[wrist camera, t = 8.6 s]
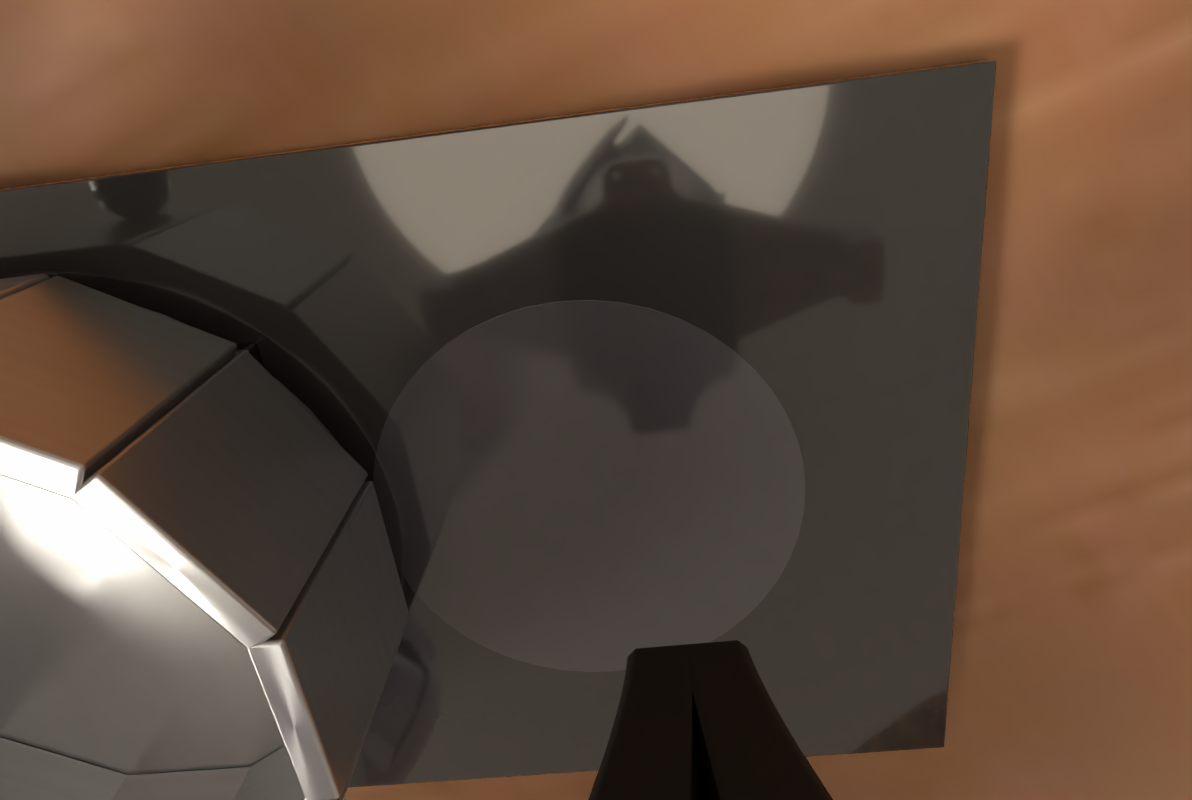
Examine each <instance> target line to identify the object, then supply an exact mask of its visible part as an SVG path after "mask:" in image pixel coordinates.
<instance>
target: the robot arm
mask: <svg viewBox="0 0 1192 800" xmlns="http://www.w3.org/2000/svg"><path fill="white" fill-rule="evenodd" d="M589 800H833V799H832V797H831V796H830V794H829V793H828V791H827V790H826V788H825V787H824V785H823V784H822V782H821V781H820V779H819V777H818V776H817V774H816V773H815V771H814V770H813V768H812V767H811V765H810V764H809V762H808V761H807V759H806V757H805V756H804V754H803V753H802V751H801V750H800V748H799V746H798V745H797V743H796V741H795V740H794V738H793V736H792V735H791V733H790V731H789V730H788V728H787V726H786V724H785V723H784V721H783V719H782V717H781V716H780V714H779V712H778V710H777V709H776V707H775V705H774V703H773V701H772V700H771V698H770V696H769V694H768V692H767V690H766V688H765V686H764V684H763V682H762V680H761V678H760V676H759V674H758V672H757V670H756V667H755V665H754V663H753V661H752V658H751V656H750V653H749V650H748V648H747V647H746V646H745V645H744V644H742V643H741V642H740V641H738V640H734V641H721V642H709V643H697V644H685V645H673V646H660V647H648V648H636V649H635V650H634V651H633V652H632V653H631V654H630V655H629V656H628V657H627V665H626V673H625V678H624V683H623V688H622V693H621V698H620V702H619V706H618V710H617V713H616V717H615V720H614V724H613V727H612V731H611V734H610V738H609V741H608V744H607V748H606V751H605V753H604V756H603V759H602V762H601V765H600V768H599V771H598V774H597V777H596V780H595V782H594V785H593V788H592V791H591V794H590V797H589Z"/></svg>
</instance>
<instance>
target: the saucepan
mask: <svg viewBox="0 0 1192 800" xmlns="http://www.w3.org/2000/svg"><path fill="white" fill-rule="evenodd" d="M367 476H368V474H367V472H366V471H365V470H364V469H363V468H362V467H361V466H360V465H359V464H358V463H357V462H356V461H355V460H354V459H353V458H352V457H351V456H350V455H349V454H348V453H347V452H346V451H345V450H344V449H343V448H342V447H341V446H340V444H339V443H338V441H337V440H336V439H335V437H334V436H333V435H332V434H331V433H330V432H329V431H328V429H327V428H326V427H325V426H324V425H323V424H322V423H321V421H320V420H319V419H318V418H317V417H316V416H315V415H314V413H313V412H312V411H311V410H310V409H309V408H308V407H307V406H306V405H305V404H304V403H303V402H301V401H300V400H299V399H298V398H297V397H296V396H295V395H294V394H293V393H292V392H290V391H289V390H288V389H287V388H286V387H285V386H284V385H283V384H282V383H281V382H280V381H278V380H277V379H276V378H274V377H273V376H272V375H271V374H270V373H269V372H268V371H267V370H266V369H265V367H264V363H263V360H262V357H261V354H260V351H259V348H258V344H257V343H256V342H249V343H240V344H236V343H234V342H231V341H228V340H226V339H223V338H220V337H218V336H215V335H213V334H210V333H207V332H205V331H202V330H200V329H197V328H194V327H192V326H189V325H187V324H184V323H182V322H180V321H178V320H175V319H173V318H171V317H169V316H166V315H164V314H161V313H158V312H155V311H152V310H149V309H145V308H142V307H139V306H137V305H134V304H131V303H129V302H126V301H124V300H121V299H118V298H116V297H113V296H110V295H108V294H105V293H103V292H100V291H97V290H95V289H92V288H89V287H87V286H84V285H82V284H79V283H76V282H74V281H71V280H68V279H66V278H63V277H61V276H55V277H52V278H50V277H49V276H48V275H46V274H38V275H30V276H21V277H13V278H4V279H0V800H343V799H344V797H345V794H346V791H347V788H348V786H349V783H350V780H351V777H352V774H353V772H354V769H355V766H356V763H357V761H358V758H359V755H360V752H361V750H362V747H363V744H364V741H365V739H366V736H367V733H368V730H369V728H370V725H371V722H372V719H373V717H374V714H375V711H376V708H377V706H378V703H379V700H380V697H381V694H382V692H383V689H384V686H385V683H386V681H387V678H388V675H389V672H390V670H391V667H392V664H393V661H394V659H395V656H396V653H397V650H398V648H399V645H400V642H401V639H402V637H403V634H404V631H405V628H406V626H407V623H408V618H407V615H408V608H407V604H406V601H405V597H404V593H403V590H402V586H401V582H400V579H399V575H398V571H397V568H396V564H395V561H394V557H393V553H392V550H391V546H390V542H389V539H388V535H387V531H386V528H385V524H384V521H383V517H382V513H381V510H380V506H379V502H378V499H377V495H376V491H375V488H374V484H373V482H372V481H365V479H366V478H367ZM364 481H365V482H364Z"/></svg>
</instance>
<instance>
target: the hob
mask: <svg viewBox="0 0 1192 800" xmlns="http://www.w3.org/2000/svg"><path fill="white" fill-rule="evenodd" d="M995 70H996V61H994V60H983V61H975V62H968V63H960V64H952V65H945V66H937V67H929V68H922V69H914V70H906V71H899V72H891V73H883V74H876V75H868V76H861V77H853V78H845V79H838V80H830V81H822V82H815V83H807V84H799V85H792V86H784V87H776V88H769V89H761V90H754V91H746V92H738V93H731V94H723V95H715V96H708V97H700V98H692V99H685V100H677V101H669V102H662V103H654V104H647V105H639V106H631V107H624V108H616V109H608V110H601V111H593V112H585V113H578V114H570V115H562V116H555V117H547V118H540V119H532V120H524V121H517V122H509V123H501V124H494V125H486V126H478V127H471V128H463V129H455V130H448V131H440V132H433V133H425V134H417V135H410V136H402V137H394V138H387V139H379V140H371V141H364V142H356V143H348V144H341V145H333V146H325V147H318V148H310V149H303V150H295V151H287V152H280V153H272V154H264V155H257V156H249V157H241V158H234V159H226V160H218V161H211V162H203V163H196V164H188V165H180V166H173V167H165V168H157V169H150V170H142V171H134V172H127V173H119V174H111V175H104V176H96V177H89V178H81V179H73V180H66V181H58V182H50V183H43V184H35V185H27V186H20V187H12V188H4V189H0V279H4V278H13V277H21V276H30V275H38V274H46V275H48V276H49V277H50V278H52V277H55V276H61V277H63V278H66V279H68V280H71V281H74V282H76V283H79V284H82V285H84V286H87V287H89V288H92V289H95V290H97V291H100V292H103V293H105V294H108V295H110V296H113V297H116V298H118V299H121V300H124V301H126V302H129V303H131V304H134V305H137V306H139V307H142V308H145V309H149V310H152V311H155V312H158V313H161V314H164V315H166V316H169V317H171V318H173V319H175V320H178V321H180V322H182V323H184V324H187V325H189V326H192V327H194V328H197V329H200V330H202V331H205V332H207V333H210V334H213V335H215V336H218V337H220V338H223V339H226V340H228V341H231V342H234V343H236V344H240V343H249V342H256V343H257V344H258V348H259V351H260V354H261V357H262V360H263V363H264V367H265V369H266V370H267V371H268V372H269V373H270V374H271V375H272V376H273V377H274V378H276V379H277V380H278V381H280V382H281V383H282V384H283V385H284V386H285V387H286V388H287V389H288V390H289V391H290V392H292V393H293V394H294V395H295V396H296V397H297V398H298V399H299V400H300V401H301V402H303V403H304V404H305V405H306V406H307V407H308V408H309V409H310V410H311V411H312V412H313V413H314V415H315V416H316V417H317V418H318V419H319V420H320V421H321V423H322V424H323V425H324V426H325V427H326V428H327V429H328V431H329V432H330V433H331V434H332V435H333V436H334V437H335V439H336V440H337V441H338V443H339V444H340V446H341V447H342V448H343V449H344V450H345V451H346V452H347V453H348V454H349V455H350V456H351V457H352V458H353V459H354V460H355V461H356V462H357V463H358V464H359V465H360V466H361V467H362V468H363V469H364V470H365V471H366V472H367V474H368V476H367V478H366V479H365V481H372V482H373V484H374V488H375V491H376V495H377V499H378V502H379V506H380V510H381V513H382V517H383V521H384V524H385V528H386V531H387V535H388V539H389V542H390V546H391V550H392V553H393V557H394V561H395V564H396V568H397V571H398V575H399V579H400V582H401V586H402V590H403V593H404V597H405V601H406V604H407V608H408V615H407V618H408V623H407V626H406V628H405V631H404V634H403V637H402V639H401V642H400V645H399V648H398V650H397V653H396V656H395V659H394V661H393V664H392V667H391V670H390V672H389V675H388V678H387V681H386V683H385V686H384V689H383V692H382V694H381V697H380V700H379V703H378V706H377V708H376V711H375V714H374V717H373V719H372V722H371V725H370V728H369V730H368V733H367V736H366V739H365V741H364V744H363V747H362V750H361V752H360V755H359V758H358V761H357V763H356V766H355V769H354V772H353V774H352V777H351V780H350V783H349V786H348V787H363V786H378V785H393V784H407V783H422V782H437V781H452V780H467V779H481V778H496V777H511V776H526V775H540V774H555V773H570V772H585V771H599V768H600V765H601V762H602V759H603V756H604V753H605V751H606V748H607V744H608V741H609V738H610V734H611V731H612V727H613V724H614V720H615V717H616V713H617V710H618V706H619V702H620V698H621V693H622V688H623V683H624V678H625V673H626V665H627V657H628V656H629V655H630V654H631V653H632V652H633V651H634V650H635V649H636V648H648V647H660V646H673V645H685V644H697V643H709V642H721V641H734V640H738V641H740V642H741V643H742V644H744V645H745V646H746V647H747V648H748V650H749V653H750V656H751V658H752V661H753V663H754V665H755V667H756V670H757V672H758V674H759V676H760V678H761V680H762V682H763V684H764V686H765V688H766V690H767V692H768V694H769V696H770V698H771V700H772V701H773V703H774V705H775V707H776V709H777V710H778V712H779V714H780V716H781V717H782V719H783V721H784V723H785V724H786V726H787V728H788V730H789V731H790V733H791V735H792V736H793V738H794V740H795V741H796V743H797V745H798V746H799V748H800V750H801V751H802V753H803V754H804V756H805V757H806V756H821V755H836V754H851V753H866V752H880V751H895V750H910V749H925V748H940V747H944V740H945V727H946V714H947V701H948V687H949V674H950V661H951V648H952V635H953V622H954V609H955V595H956V582H957V569H958V556H959V543H960V530H961V517H962V504H963V490H964V477H965V464H966V451H967V438H968V425H969V412H970V399H971V385H972V372H973V359H974V346H975V333H976V320H977V307H978V294H979V280H980V267H981V254H982V241H983V228H984V215H985V202H986V188H987V175H988V162H989V149H990V136H991V123H992V110H993V97H994V83H995ZM365 481H364V482H365Z"/></svg>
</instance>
